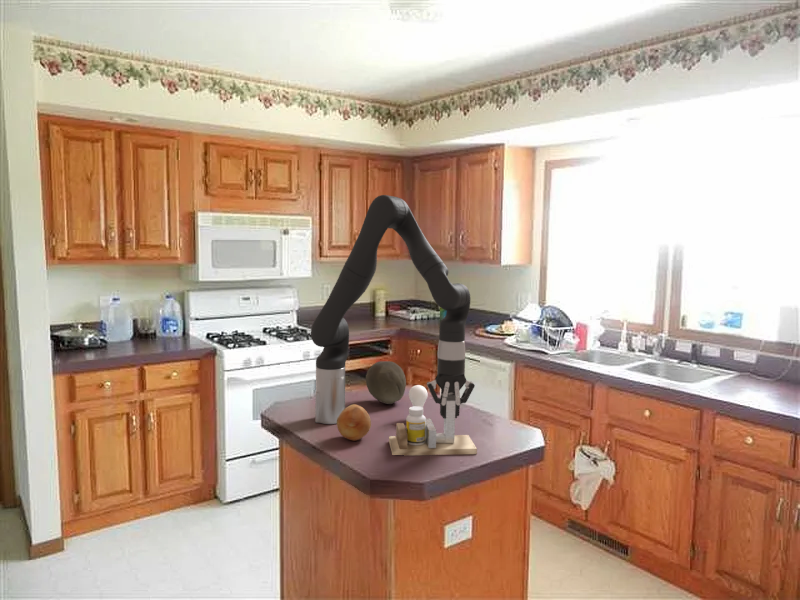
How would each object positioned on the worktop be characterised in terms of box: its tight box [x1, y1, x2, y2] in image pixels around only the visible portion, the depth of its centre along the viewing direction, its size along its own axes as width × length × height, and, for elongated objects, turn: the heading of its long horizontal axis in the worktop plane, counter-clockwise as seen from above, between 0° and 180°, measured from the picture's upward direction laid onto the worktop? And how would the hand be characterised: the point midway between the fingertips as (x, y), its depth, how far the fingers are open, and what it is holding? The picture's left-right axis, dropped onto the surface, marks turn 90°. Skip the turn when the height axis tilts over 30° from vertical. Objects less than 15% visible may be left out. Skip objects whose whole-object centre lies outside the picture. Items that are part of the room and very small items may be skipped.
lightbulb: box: [408, 384, 429, 409], centre depth 186 cm, size 6×6×11 cm
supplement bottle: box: [405, 405, 427, 446], centre depth 160 cm, size 5×5×10 cm
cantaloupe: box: [365, 360, 407, 405], centre depth 203 cm, size 14×14×15 cm
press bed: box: [388, 422, 478, 456], centre depth 161 cm, size 23×11×6 cm, turn 96°
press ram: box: [426, 393, 456, 448], centre depth 160 cm, size 8×10×14 cm
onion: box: [336, 403, 372, 442], centre depth 166 cm, size 10×10×10 cm
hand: (449, 417), depth 161 cm, fingers closed on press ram, 2 cm apart
